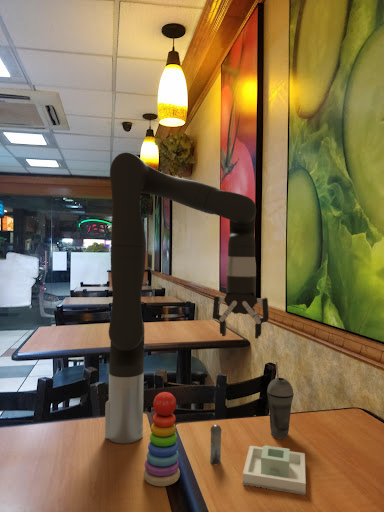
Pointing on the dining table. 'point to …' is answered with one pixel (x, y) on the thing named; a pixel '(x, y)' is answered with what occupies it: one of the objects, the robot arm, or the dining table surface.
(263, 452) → the pale green hollow block
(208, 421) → the dining table surface
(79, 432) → the dining table surface
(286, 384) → the beverage cup
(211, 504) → the dining table surface
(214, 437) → the post
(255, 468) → the tray
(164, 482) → the stacking toy
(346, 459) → the dining table surface
